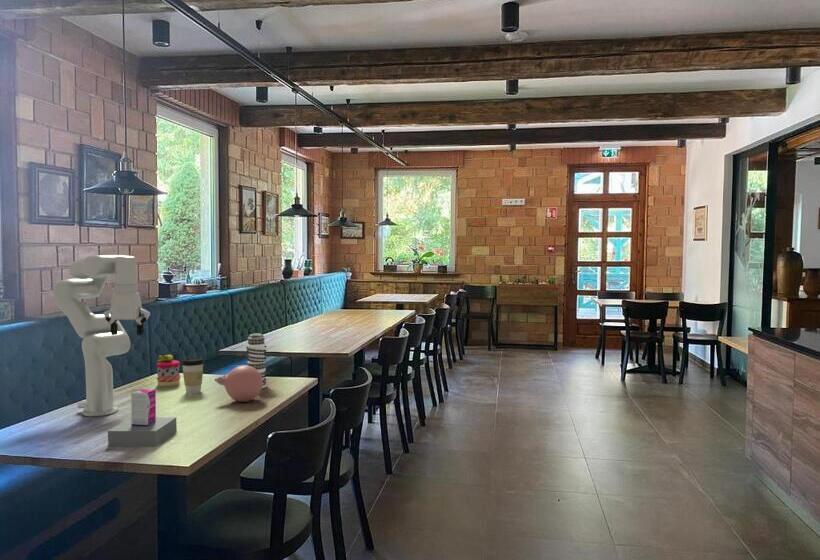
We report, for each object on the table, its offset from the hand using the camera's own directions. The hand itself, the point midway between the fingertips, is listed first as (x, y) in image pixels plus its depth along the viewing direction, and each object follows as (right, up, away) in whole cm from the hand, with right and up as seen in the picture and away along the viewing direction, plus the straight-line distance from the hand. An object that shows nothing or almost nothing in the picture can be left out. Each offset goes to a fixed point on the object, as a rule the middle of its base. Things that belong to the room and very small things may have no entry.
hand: (127, 334), depth 221 cm
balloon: (+33, -32, +31) cm, 55 cm away
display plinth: (+15, -34, -18) cm, 41 cm away
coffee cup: (+7, -31, +48) cm, 57 cm away
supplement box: (+15, -29, -19) cm, 38 cm away
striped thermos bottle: (+34, -30, +58) cm, 73 cm away
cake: (-10, -30, +63) cm, 71 cm away
